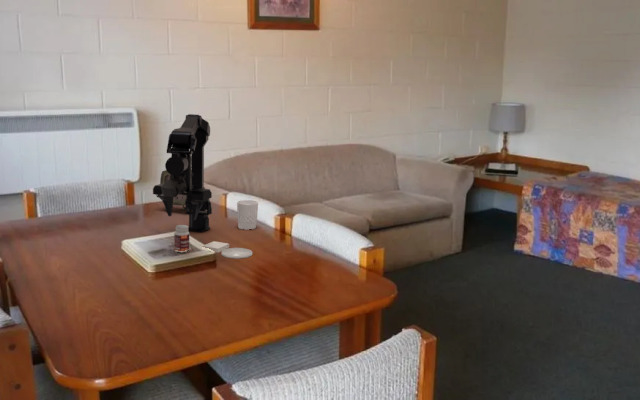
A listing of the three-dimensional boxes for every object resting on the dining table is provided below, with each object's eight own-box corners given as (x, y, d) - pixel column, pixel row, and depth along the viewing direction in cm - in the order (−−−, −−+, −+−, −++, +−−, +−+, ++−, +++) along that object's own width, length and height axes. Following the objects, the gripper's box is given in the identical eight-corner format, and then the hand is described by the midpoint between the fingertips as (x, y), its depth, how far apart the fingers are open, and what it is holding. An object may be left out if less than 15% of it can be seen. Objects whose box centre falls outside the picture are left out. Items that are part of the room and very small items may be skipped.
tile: (213, 246, 206) (202, 251, 200) (213, 241, 206) (202, 245, 200) (229, 248, 204) (217, 253, 198) (229, 243, 204) (218, 248, 198)
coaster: (215, 255, 195) (215, 253, 194) (230, 247, 204) (230, 246, 204) (243, 260, 191) (243, 258, 191) (257, 252, 200) (257, 250, 200)
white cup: (259, 226, 235) (260, 200, 233) (255, 231, 227) (255, 205, 225) (239, 224, 235) (239, 199, 233) (234, 229, 228) (235, 203, 226)
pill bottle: (182, 254, 194) (182, 228, 193) (171, 251, 197) (171, 226, 195) (192, 250, 198) (192, 226, 197) (181, 248, 201) (181, 223, 199)
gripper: (141, 170, 188) (142, 219, 191) (193, 176, 182) (193, 227, 185) (163, 166, 198) (163, 212, 202) (212, 172, 192) (212, 219, 195)
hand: (182, 218), depth 196 cm, fingers open, 9 cm apart
